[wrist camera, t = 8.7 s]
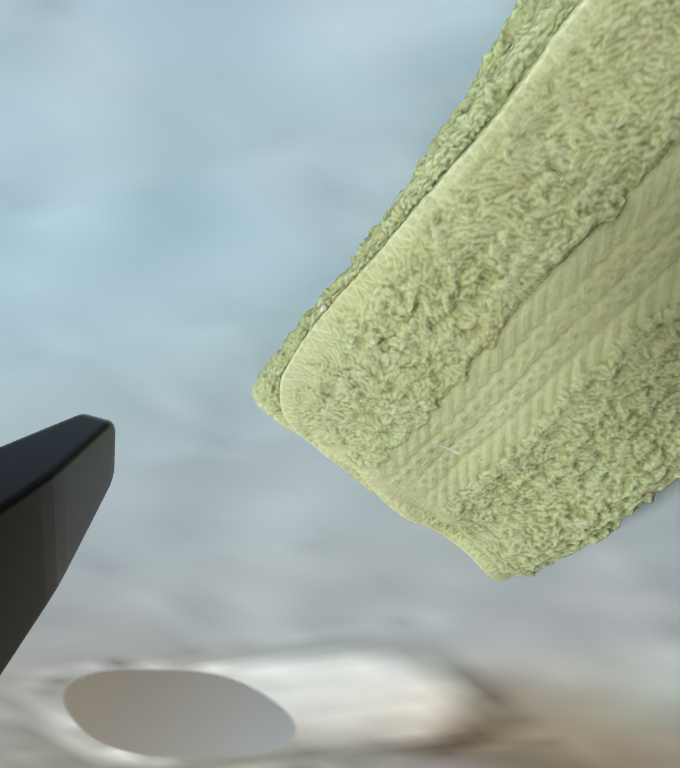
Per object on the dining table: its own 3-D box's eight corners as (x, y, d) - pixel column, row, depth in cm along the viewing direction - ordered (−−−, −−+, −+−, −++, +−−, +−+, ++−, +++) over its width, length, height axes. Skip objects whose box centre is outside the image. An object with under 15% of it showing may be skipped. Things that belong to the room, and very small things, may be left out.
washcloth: (244, 382, 22) (216, 432, 19) (620, -159, 14) (666, -205, 11) (521, 557, 25) (532, 624, 22) (992, 192, 16) (1107, 227, 13)
